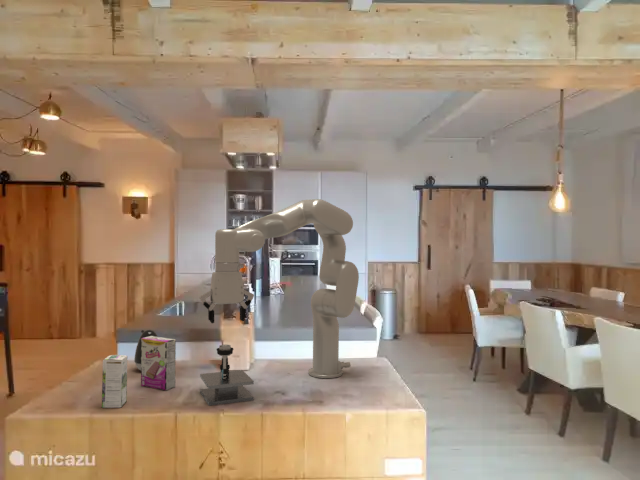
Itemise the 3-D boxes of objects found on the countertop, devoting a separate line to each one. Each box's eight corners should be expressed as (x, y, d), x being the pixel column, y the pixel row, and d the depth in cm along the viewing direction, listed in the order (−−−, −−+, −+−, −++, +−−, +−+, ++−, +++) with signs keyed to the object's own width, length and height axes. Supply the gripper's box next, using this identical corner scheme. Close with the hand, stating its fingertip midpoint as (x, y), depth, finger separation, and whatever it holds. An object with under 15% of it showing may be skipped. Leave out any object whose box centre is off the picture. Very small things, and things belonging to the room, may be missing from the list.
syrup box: (107, 402, 160) (107, 354, 159) (127, 401, 160) (127, 354, 160) (101, 408, 154) (101, 359, 154) (122, 408, 154) (122, 359, 154)
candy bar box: (139, 386, 175) (140, 338, 175) (150, 382, 180) (150, 335, 180) (165, 391, 171) (166, 341, 170) (176, 387, 175) (176, 338, 175)
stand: (242, 387, 176) (242, 369, 175) (253, 400, 163) (253, 381, 163) (200, 392, 170) (200, 373, 170) (208, 405, 157) (208, 385, 157)
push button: (232, 380, 163) (232, 348, 163) (215, 380, 163) (215, 348, 162) (233, 374, 170) (233, 343, 170) (216, 374, 169) (217, 344, 169)
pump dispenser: (154, 365, 203) (154, 326, 203) (167, 370, 196) (168, 330, 196) (129, 369, 196) (129, 329, 196) (142, 375, 189) (142, 333, 188)
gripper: (250, 266, 172) (250, 317, 173) (197, 267, 166) (197, 321, 166) (256, 268, 166) (256, 321, 166) (202, 269, 159) (202, 325, 159)
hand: (227, 321), depth 166 cm, fingers open, 9 cm apart
